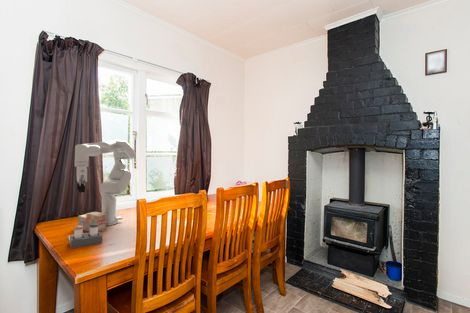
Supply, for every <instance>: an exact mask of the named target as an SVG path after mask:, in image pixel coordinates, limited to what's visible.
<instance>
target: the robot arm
mask: <svg viewBox="0 0 470 313" xmlns="http://www.w3.org/2000/svg"><path fill="white" fill-rule="evenodd" d="M112 152H113V154H112V155H113V158H114V164H113V167H112V169H111V170H110V173H109V175H108V179H109V180H106V181H104V182H102V183H101V185H100V193H101V213H103V214H106V226H112V225H116V224H118V223H119V221H121V220H123V216H117V197H116V195H123V194H124V193H125V191H126V190H127V188H128V186H129V184H130V181H131V178H132V172H130V170H128V169H126V168H127V165H126V163H125V161H124V160H134V158H135V157H136V151H135V150H134V148H133V147H132V145H131V144H130V143H129V142H128V141H127V140H123V139H122V140H121V139H113V140H107V141H106V140H105V141H100V142H99V141H97V142H89V143H81V144H76V145H75V147H74V168H75V167H76V181H77V187H76V190H77V191H78V192H79V193H85V192H86V183H87V182H88V167H89V166H90V165H89V160H90V158H89V157H97V156H99V155H101V154H109V153H112Z"/></svg>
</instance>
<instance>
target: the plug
mask: <svg viewBox="0 0 470 313" xmlns="http://www.w3.org/2000/svg"><path fill="white" fill-rule="evenodd" d="M73 230H74V231H73V232H74V233H73V235H74V239H79V238H83V233H84V230H83V226H82V225H78V224H77V225H75V226H73Z"/></svg>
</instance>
